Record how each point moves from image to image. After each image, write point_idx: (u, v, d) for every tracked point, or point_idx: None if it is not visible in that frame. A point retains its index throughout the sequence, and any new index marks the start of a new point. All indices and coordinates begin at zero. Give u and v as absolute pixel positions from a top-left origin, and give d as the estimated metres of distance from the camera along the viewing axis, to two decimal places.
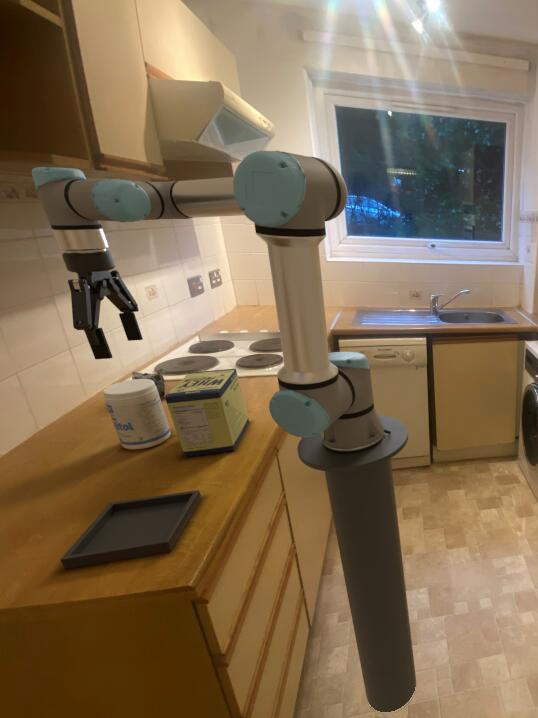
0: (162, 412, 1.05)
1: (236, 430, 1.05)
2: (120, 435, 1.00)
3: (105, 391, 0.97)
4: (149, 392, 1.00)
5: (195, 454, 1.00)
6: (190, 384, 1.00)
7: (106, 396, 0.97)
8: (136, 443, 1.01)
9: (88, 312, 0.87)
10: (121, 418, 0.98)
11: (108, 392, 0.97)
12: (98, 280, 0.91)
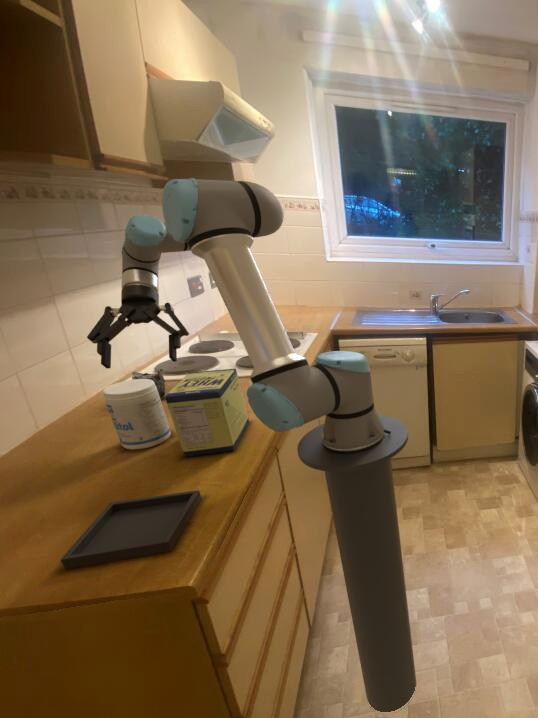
0: (162, 412, 1.05)
1: (236, 430, 1.05)
2: (120, 435, 1.00)
3: (105, 391, 0.97)
4: (149, 392, 1.00)
5: (195, 454, 1.00)
6: (190, 384, 1.00)
7: (106, 396, 0.97)
8: (136, 443, 1.01)
9: (96, 328, 1.07)
10: (121, 418, 0.98)
11: (108, 392, 0.97)
12: None
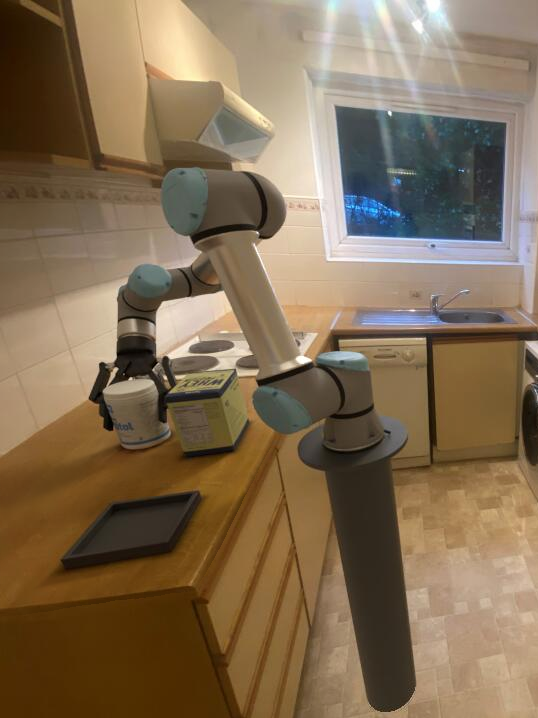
0: None
1: (236, 430, 1.05)
2: (120, 435, 1.00)
3: (105, 391, 0.97)
4: (148, 392, 1.00)
5: (195, 454, 1.00)
6: (190, 383, 1.00)
7: (106, 396, 0.97)
8: (136, 443, 1.01)
9: (95, 387, 1.01)
10: (121, 418, 0.98)
11: (108, 392, 0.97)
12: None
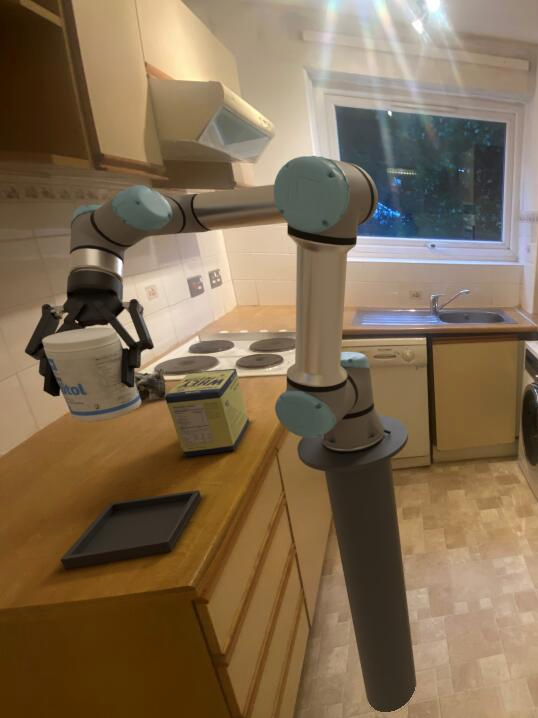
0: None
1: (236, 430, 1.05)
2: (69, 401, 0.73)
3: (45, 340, 0.70)
4: (107, 343, 0.73)
5: (195, 454, 1.00)
6: (190, 383, 1.00)
7: (46, 346, 0.70)
8: (91, 413, 0.74)
9: (35, 336, 0.74)
10: (68, 378, 0.71)
11: (49, 341, 0.70)
12: None
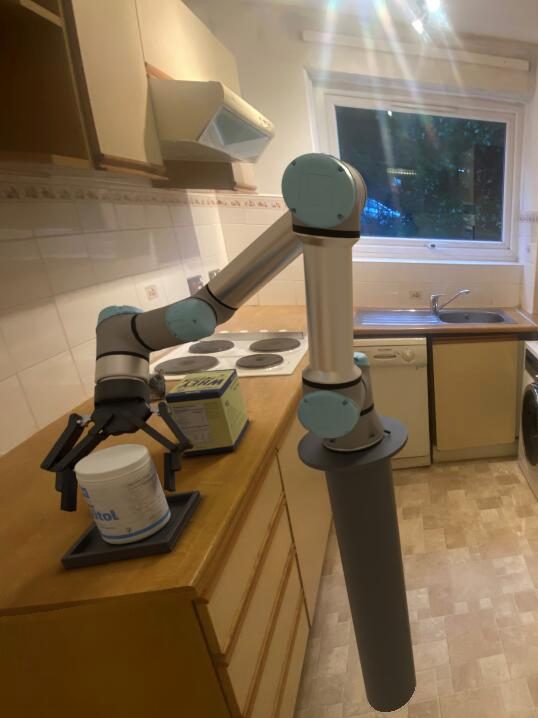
0: (159, 489, 0.76)
1: (236, 430, 1.05)
2: (100, 526, 0.72)
3: (77, 468, 0.69)
4: (140, 466, 0.72)
5: (195, 454, 1.00)
6: (190, 383, 1.00)
7: (79, 476, 0.68)
8: (122, 536, 0.72)
9: (54, 450, 0.72)
10: (101, 505, 0.70)
11: (82, 471, 0.68)
12: None
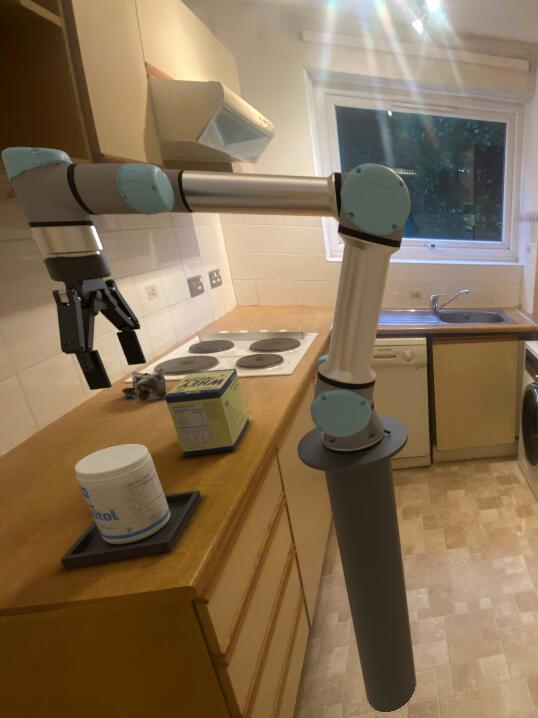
0: (159, 489, 0.76)
1: (236, 430, 1.05)
2: (100, 526, 0.72)
3: (77, 468, 0.69)
4: (140, 466, 0.72)
5: (195, 454, 1.00)
6: (190, 383, 1.00)
7: (79, 476, 0.68)
8: (122, 536, 0.72)
9: (80, 330, 0.68)
10: (101, 505, 0.70)
11: (82, 471, 0.68)
12: (91, 291, 0.72)
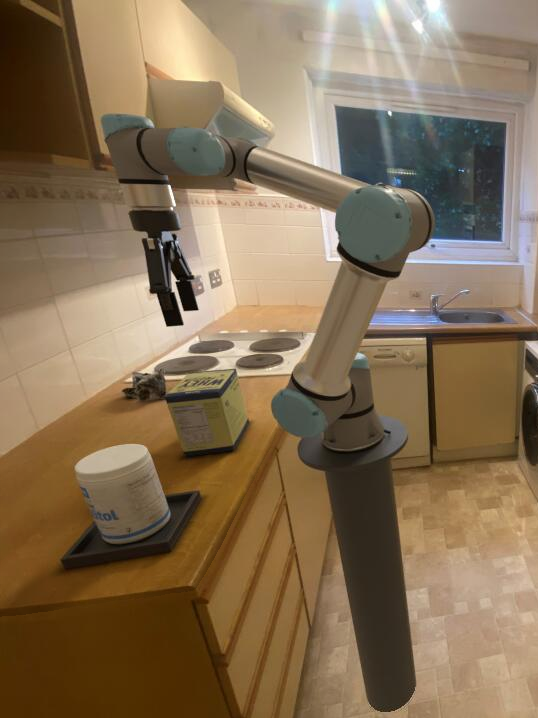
0: (159, 489, 0.76)
1: (236, 430, 1.05)
2: (100, 526, 0.72)
3: (77, 468, 0.69)
4: (140, 466, 0.72)
5: (195, 454, 1.00)
6: (190, 383, 1.00)
7: (79, 476, 0.68)
8: (122, 536, 0.72)
9: (164, 273, 0.81)
10: (101, 505, 0.70)
11: (82, 471, 0.68)
12: (166, 241, 0.84)
